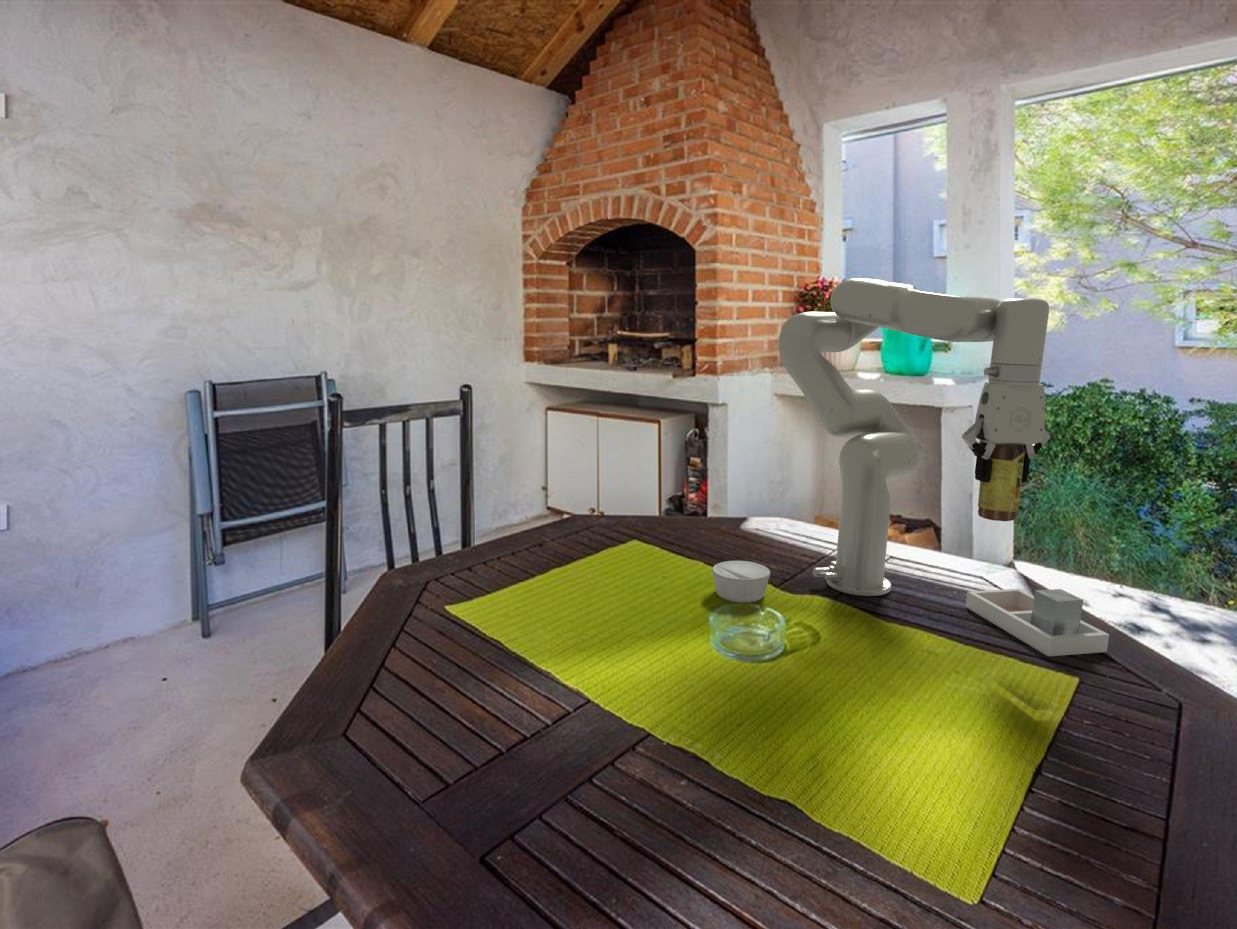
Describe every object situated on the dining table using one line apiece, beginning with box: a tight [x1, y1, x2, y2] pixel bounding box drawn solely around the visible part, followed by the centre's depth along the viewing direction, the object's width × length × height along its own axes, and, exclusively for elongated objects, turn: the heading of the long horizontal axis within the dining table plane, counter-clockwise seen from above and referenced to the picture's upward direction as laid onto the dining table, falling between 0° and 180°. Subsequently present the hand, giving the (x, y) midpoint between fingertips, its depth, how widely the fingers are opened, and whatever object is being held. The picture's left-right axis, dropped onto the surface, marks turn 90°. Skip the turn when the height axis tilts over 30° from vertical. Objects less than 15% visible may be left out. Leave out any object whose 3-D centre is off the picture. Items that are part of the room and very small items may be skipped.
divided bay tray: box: [965, 588, 1110, 657], centre depth 131 cm, size 21×11×4 cm, turn 11°
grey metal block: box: [1030, 588, 1084, 636], centre depth 126 cm, size 5×5×8 cm
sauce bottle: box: [977, 444, 1025, 522], centre depth 126 cm, size 6×6×20 cm
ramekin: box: [711, 560, 771, 604], centre depth 147 cm, size 11×11×5 cm
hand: (1000, 479), depth 127 cm, fingers closed on sauce bottle, 6 cm apart
